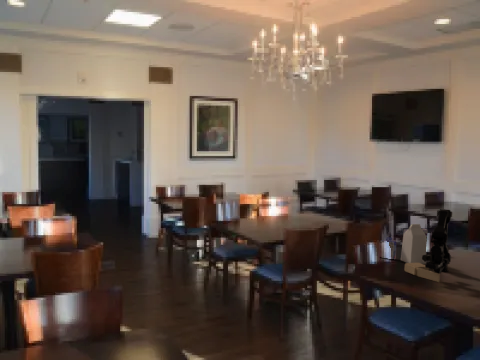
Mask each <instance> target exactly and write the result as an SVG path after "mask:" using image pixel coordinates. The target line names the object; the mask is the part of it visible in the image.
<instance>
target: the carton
mask: <svg viewBox="0 0 480 360" xmlns="http://www.w3.org/2000/svg"><path fill="white" fill-rule="evenodd" d="M417 268H421V269H424V270H428V271H430V268H426V267H425V264H421V263H406V262H405V264H404V272H406V273H409V274H411V275H413V276H416V275H417Z"/></svg>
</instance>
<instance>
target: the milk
mask: <svg viewBox="0 0 480 360" xmlns="http://www.w3.org/2000/svg"><path fill="white" fill-rule="evenodd" d="M407 229H408V230H407V231H406V232H405V233H404V232H403V233H404V235H402V236H403V237H402V244H401V245H402V247H401V253H400V261H402V262H404V263H405V264H406V263H421V264H423V265H425V264H426V263H427V261H426V262H424V260H422V256H423V255H427V249H426V235H425V233H424V232H423V230H422V229H423V228H422V226H421V224H420V223H411V225H410V226H409V227H408V228H407Z"/></svg>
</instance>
